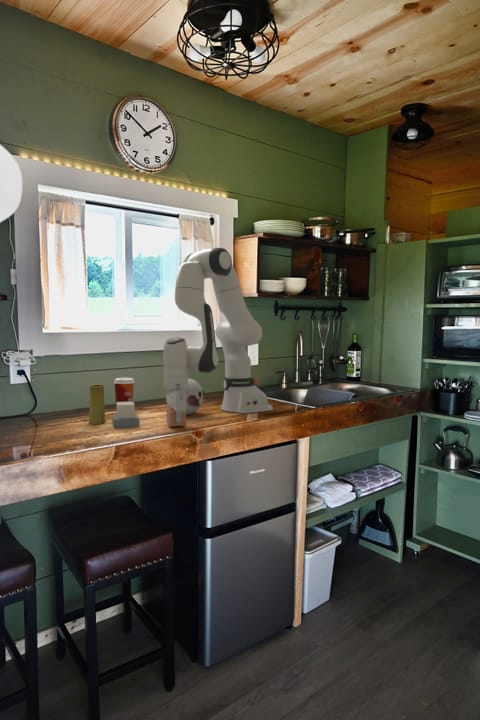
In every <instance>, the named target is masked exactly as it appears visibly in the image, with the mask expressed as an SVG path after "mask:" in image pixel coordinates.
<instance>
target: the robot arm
mask: <svg viewBox="0 0 480 720" xmlns="http://www.w3.org/2000/svg"><path fill="white" fill-rule="evenodd" d="M232 262H233V260H232V256H231V254H230V253H229V251H228V250H227V249H226V248H223V247H214V248H207V249H202V250H200V251H196V252H191V253H189V254H188V255H186V256H185V257H184V258H183V260H182V264H180V266H179V268H178V271H177V275H176V280H175V289H174V302H175V303H174V304H175V306H176V307H177V308H178V309H179V310H180V311H182V312H183V313H185V314H187V315H188V316H190V317H193V318H195V319H196V320H197V321H199V322H200V323H199V324H200V325H201V326H200V327H201V333H202V335H201V336H202V345H188V344H187V341H186V339H185V338H183V337H171V338H168V339H166V340H165V342H164V344H163V345H164V346H163V352H162V353H163V355H162V357H163V361H162V362H163V363H162V364H163V366H164V367H163V368H164V369H163V381H162V383H163V388H164V390H165V391H164V392H165V400H166V404H167V403H168V404H169V405H170V406H171V409H174V410H175V411H176V422H181V416H182V412H186V409H187V407H186V393H185V390H184V389H185V388H187V387H188V378H189V374H188V372H198V373H199V372H200V373H205V374H210V373H212V372H213V371H214V370H216V368H218V366H219V353H218V352H219V351H218V349H217V342H216V339H218V340H219V342H220V344H221V348H222V351H223V352H222V353H223V356H224V376H223V390H224V393H223V398H222V399H223V400H222V405H221V407H220V409H221V410H222V411H225V412H228V413H229V412H230V413H238V414H250V413H251V414H252V413H260V412H270V411H273V410H274V407H273V406H272V405H271V404H269V401H268V396H267V395H266V394H265V392H264V391H262V390H261V389H260V388H259V387H257V386H256V385H257V384H258V382H259V380H258V378H253V377H252V375H251V372H252V371H251V370H252V360H251V358H250V356H249V355H248V353H247V350H246V347H249V346H254V345H258V343H259V342H260V341H261V339H262V337H263V329H262V327H261V325H260V324H259V323H258V322H257V321H256V320H255V319H254V317H253V315H252V314H251V313H250V311H249V309H248V307H247V305H246V302H245V299H244V295H243V292H242V289H241V284H240V280H239V278H238V275H237V272H236V270H235V267H234V266H233V263H232ZM205 279H211V280H212V287H213V291H214V295H215V299H216V302H217V307H218V310H219V311H220V312H221V313H222V315H224V317H225V320H223V321H222V320H221V321H220V322H219V323H217V325H216V328H215V323H214V316H213V311H212V307H211V306H210V304H208V303H207V302H206V299H205ZM216 337H217V338H216ZM255 384H256V385H255ZM168 404H167V405H168Z"/></svg>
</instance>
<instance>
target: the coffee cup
mask: <svg viewBox="0 0 480 720" xmlns="http://www.w3.org/2000/svg"><path fill="white" fill-rule="evenodd" d="M113 384H114V393H115V394H114V395H115V409H116V411H117V402H133V403H134V385H135V381H134V378H132V377H118V378H115V379H114V381H113Z"/></svg>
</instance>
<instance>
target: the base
mask: <svg viewBox="0 0 480 720" xmlns="http://www.w3.org/2000/svg"><path fill="white" fill-rule="evenodd" d="M111 415H112V416H111V417H112V424H113V428H114V429H117V428H118V429H119V428H134V427H138V428H139V427H140V417H139V416H138V414H137V413H136V412H135V418H122V419H118V417H117V414H111Z"/></svg>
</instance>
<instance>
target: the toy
mask: <svg viewBox="0 0 480 720" xmlns="http://www.w3.org/2000/svg"><path fill="white" fill-rule="evenodd" d="M184 390H185V393H186V407H187V409H186V416H188V415H192V414H194V413H195V412H197V411H199V409H200V408H201V406H202V405H203V403H204V395H205V391H204V389H203V388H202V386H201V385H200V383H199V382H197V381H196V379H192V378H189V377H188V387H187V388H185V389H184ZM166 404H167V406H168V408H169V409H171V406H170V405H169V404H168V403H167V402H166Z"/></svg>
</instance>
